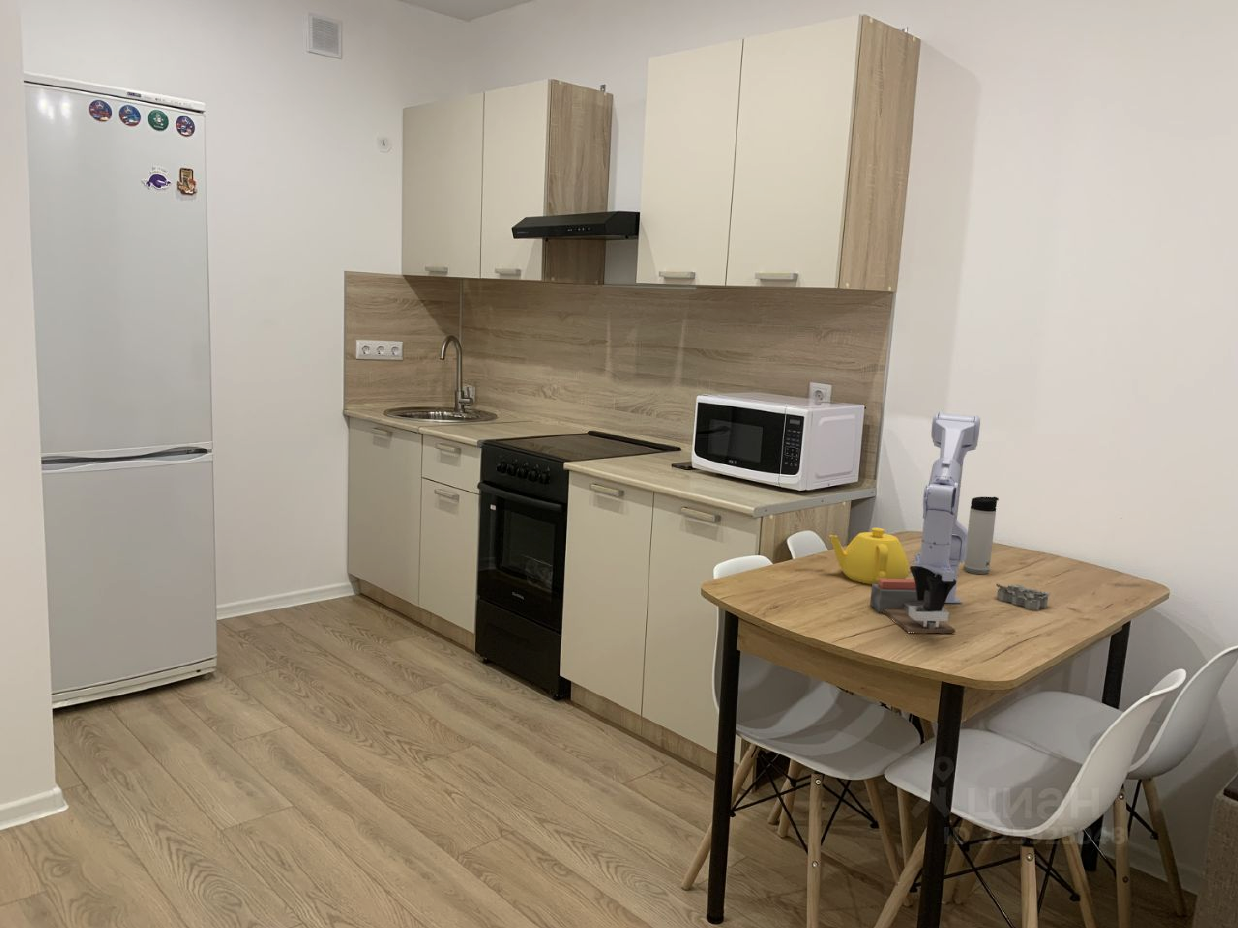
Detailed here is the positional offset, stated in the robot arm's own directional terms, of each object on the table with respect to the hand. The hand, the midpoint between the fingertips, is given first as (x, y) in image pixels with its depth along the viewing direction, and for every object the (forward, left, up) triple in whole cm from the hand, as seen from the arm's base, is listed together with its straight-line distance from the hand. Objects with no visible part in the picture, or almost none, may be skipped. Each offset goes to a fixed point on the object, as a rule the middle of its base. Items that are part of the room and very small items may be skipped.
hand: (929, 605), depth 197 cm
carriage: (0, 0, -4) cm, 4 cm away
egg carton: (-21, +33, -6) cm, 39 cm away
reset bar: (-14, 0, 0) cm, 14 cm away
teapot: (-39, +2, -6) cm, 39 cm away
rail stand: (-7, 0, -5) cm, 9 cm away
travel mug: (-48, +35, -6) cm, 59 cm away
